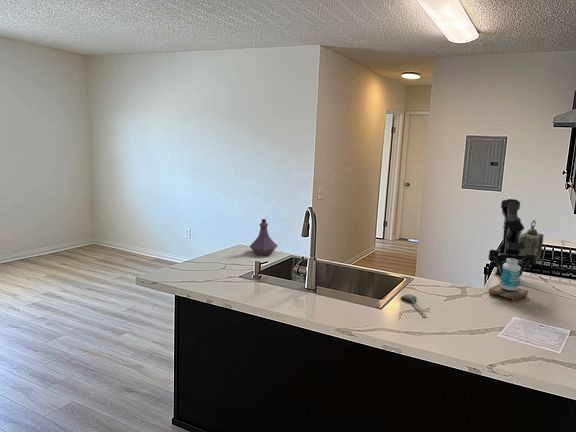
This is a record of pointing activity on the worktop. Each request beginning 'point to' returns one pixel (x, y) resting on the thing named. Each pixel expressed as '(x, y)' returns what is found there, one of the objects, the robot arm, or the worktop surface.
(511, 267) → the pill bottle
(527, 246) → the tabletop clock
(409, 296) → the soupspoon
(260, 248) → the flask
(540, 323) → the worktop surface
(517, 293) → the small wooden pallet
